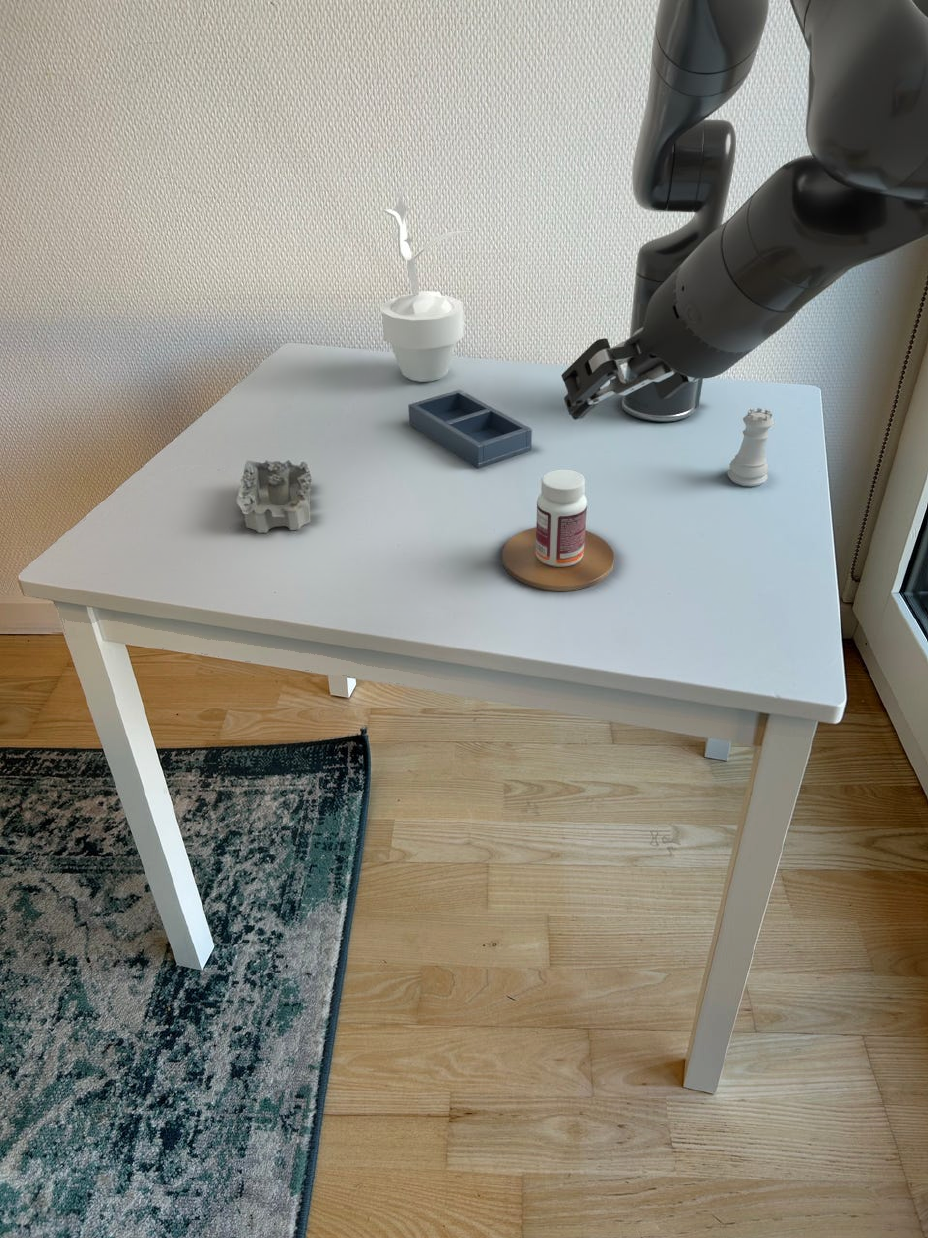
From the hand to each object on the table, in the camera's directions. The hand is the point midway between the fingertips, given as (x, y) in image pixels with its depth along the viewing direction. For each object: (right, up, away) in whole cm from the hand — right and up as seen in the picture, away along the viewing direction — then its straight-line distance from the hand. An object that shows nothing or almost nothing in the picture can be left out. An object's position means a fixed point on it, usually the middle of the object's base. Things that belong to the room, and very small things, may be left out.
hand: (616, 398), depth 72 cm
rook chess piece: (+19, -3, +26) cm, 33 cm away
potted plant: (-18, +17, +53) cm, 58 cm away
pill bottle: (-3, -12, +13) cm, 18 cm away
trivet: (-3, -13, +13) cm, 19 cm away
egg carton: (-33, -6, +22) cm, 41 cm away
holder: (-12, +4, +36) cm, 38 cm away
